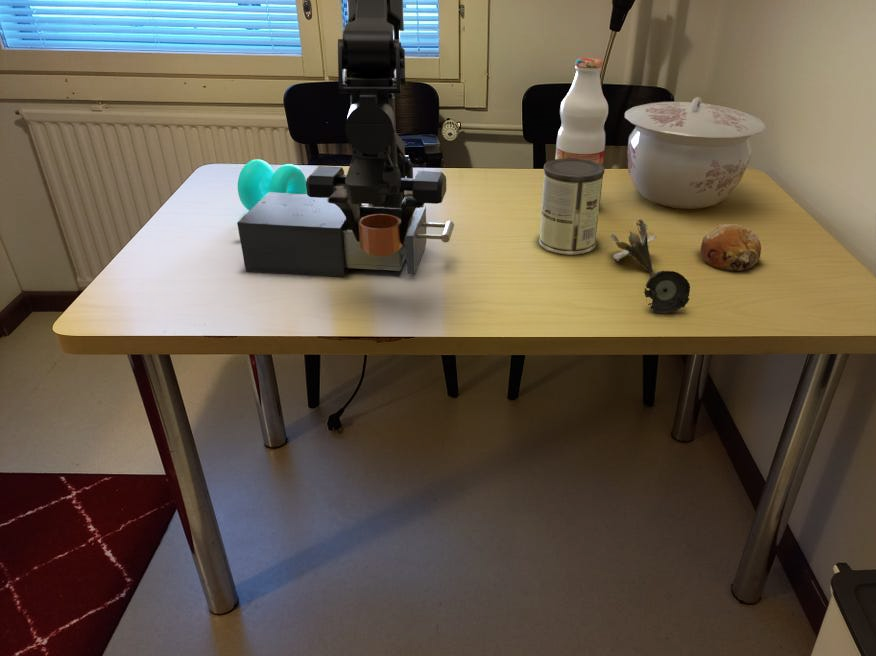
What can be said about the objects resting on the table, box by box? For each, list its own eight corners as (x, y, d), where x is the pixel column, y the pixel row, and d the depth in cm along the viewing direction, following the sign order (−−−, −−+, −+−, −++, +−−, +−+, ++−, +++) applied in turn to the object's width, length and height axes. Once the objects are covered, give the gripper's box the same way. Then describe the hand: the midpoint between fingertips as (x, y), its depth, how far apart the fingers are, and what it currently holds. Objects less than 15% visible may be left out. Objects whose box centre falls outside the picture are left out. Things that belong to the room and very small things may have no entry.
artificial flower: (633, 321, 103) (623, 259, 99) (614, 273, 123) (605, 220, 119) (693, 309, 102) (685, 245, 98) (664, 262, 122) (656, 208, 118)
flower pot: (391, 237, 104) (390, 211, 102) (408, 252, 100) (407, 224, 97) (354, 245, 101) (352, 218, 99) (370, 260, 97) (368, 232, 95)
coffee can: (549, 229, 130) (555, 154, 122) (602, 239, 126) (611, 163, 119) (529, 248, 122) (535, 170, 114) (585, 259, 119) (594, 179, 111)
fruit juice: (542, 203, 142) (552, 57, 127) (576, 195, 146) (590, 53, 131) (572, 217, 135) (587, 65, 120) (607, 209, 140) (625, 61, 125)
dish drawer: (456, 244, 121) (456, 207, 117) (447, 276, 110) (446, 237, 106) (341, 237, 122) (337, 201, 118) (320, 269, 111) (315, 230, 107)
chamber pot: (647, 226, 132) (665, 115, 121) (594, 181, 154) (605, 84, 143) (775, 217, 138) (803, 110, 127) (706, 175, 160) (725, 81, 149)
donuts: (284, 226, 128) (276, 173, 123) (239, 218, 131) (230, 166, 126) (312, 209, 136) (307, 158, 131) (269, 202, 139) (262, 152, 133)
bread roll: (753, 275, 123) (763, 231, 122) (759, 274, 113) (769, 225, 112) (696, 267, 126) (705, 223, 124) (697, 265, 116) (707, 217, 115)
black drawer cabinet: (364, 242, 123) (361, 196, 118) (344, 277, 111) (340, 228, 106) (275, 237, 124) (268, 192, 119) (245, 271, 112) (236, 222, 107)
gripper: (286, 146, 85) (301, 261, 94) (435, 153, 84) (436, 269, 93) (312, 123, 95) (323, 230, 103) (446, 130, 93) (447, 237, 102)
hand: (380, 241), depth 100 cm, fingers closed on flower pot, 6 cm apart
